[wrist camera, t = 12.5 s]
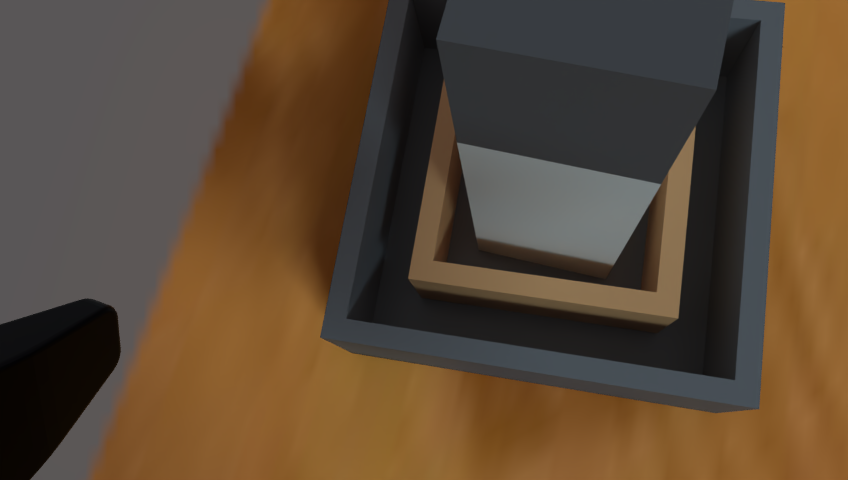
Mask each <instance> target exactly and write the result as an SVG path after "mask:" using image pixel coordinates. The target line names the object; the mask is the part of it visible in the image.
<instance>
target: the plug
mask: <svg viewBox="0 0 848 480" xmlns="http://www.w3.org/2000/svg"><path fill="white" fill-rule="evenodd" d="M733 2H734V0H447V3H446V7H445V10H444V13H443V17H442V20H441V24H440V27H439V31H438V34H437V38H436V42H437V46H438V51H439V56H440V61H441V66H442V71H443V76H444V81H445V86H446V91H447V96H448V101H449V106H450V111H451V116H452V120H453V125H454V130H455V135H456V140H457V145H458V150H459V155H460V160H461V165H462V170H463V175H464V180H465V185H466V189H467V194H468V199H469V204H470V209H471V214H472V219H473V224H474V229H475V234H476V239H477V244H478V249H479V250H481V251H485V252H489V253H494V254H498V255H502V256H507V257H511V258H515V259H520V260H524V261H528V262H533V263H537V264H541V265H546V266H550V267H554V268H559V269H563V270H567V271H572V272H576V273H580V274H585V275H589V276H593V277H598V278H602V279H606V278H607V276H608V274H609V272H610V271H611V269H612V267H613V266H614V264H615V262H616V261H617V259H618V257H619V255H620V254H621V252H622V250H623V249H624V247H625V245H626V243H627V242H628V240H629V238H630V237H631V235H632V233H633V232H634V230H635V228H636V226H637V225H638V223H639V221H640V220H641V218H642V216H643V214H644V213H645V211H646V209H647V208H648V206H649V204H650V203H651V201H652V199H653V197H654V196H655V194H656V192H657V191H658V189H659V187H660V186H661V184H662V182H663V180H664V179H665V177H666V175H667V174H668V172H669V170H670V168H671V167H672V165H673V163H674V162H675V160H676V158H677V157H678V155H679V153H680V151H681V150H682V148H683V146H684V145H685V143H686V141H687V139H688V138H689V136H690V134H691V133H692V131H693V129H694V128H695V126H696V124H697V122H698V121H699V119H700V117H701V116H702V114H703V112H704V110H705V109H706V107H707V105H708V104H709V102H710V100H711V99H712V97H713V95H714V93H715V92H716V90H717V85H718V80H719V75H720V69H721V64H722V59H723V54H724V49H725V43H726V38H727V33H728V28H729V23H730V17H731V12H732V7H733Z"/></svg>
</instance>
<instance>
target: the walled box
mask: <svg viewBox="0 0 848 480" xmlns="http://www.w3.org/2000/svg"><path fill="white" fill-rule="evenodd" d="M446 3H447V0H389V2H388V7H387V12H386V17H385V22H384V27H383V32H382V37H381V42H380V46H379V51H378V56H377V61H376V66H375V71H374V76H373V81H372V86H371V91H370V96H369V100H368V105H367V110H366V115H365V120H364V125H363V130H362V135H361V140H360V145H359V150H358V154H357V159H356V164H355V169H354V174H353V179H352V184H351V189H350V194H349V199H348V203H347V208H346V213H345V218H344V223H343V228H342V233H341V238H340V243H339V248H338V253H337V257H336V262H335V267H334V272H333V277H332V282H331V287H330V292H329V297H328V302H327V306H326V311H325V316H324V321H323V326H322V331H321V336H320V338H322V339H324V340H327V341H329V342H331V343H333V344H335V345H337V346H339V347H341V348H343V349H345V350H347V351H349V352H351V353H356V354H362V355H368V356H374V357H380V358H386V359H392V360H398V361H404V362H410V363H416V364H422V365H428V366H434V367H440V368H447V369H453V370H459V371H465V372H471V373H477V374H483V375H489V376H495V377H501V378H507V379H513V380H519V381H525V382H531V383H537V384H543V385H549V386H555V387H561V388H568V389H574V390H580V391H586V392H592V393H598V394H604V395H610V396H616V397H622V398H628V399H634V400H640V401H646V402H652V403H658V404H664V405H670V406H676V407H682V408H689V409H695V410H701V411H707V412H713V413H722V412H732V411H743V410H753V409H759V402H760V386H761V370H762V355H763V339H764V323H765V308H766V292H767V277H768V261H769V245H770V230H771V214H772V198H773V183H774V167H775V151H776V136H777V120H778V104H779V89H780V73H781V57H782V42H783V26H784V11H785V3H779V2H767V1H754V0H734V2H733V7H732V12H731V17H730V23H729V28H728V33H727V38H726V43H725V49H724V54H723V59H722V64H721V69H720V75H719V80H718V85H717V90H716V92H715V93H714V95H713V97H712V99H711V100H710V102H709V104H708V105H707V107H706V109H705V110H704V112H703V114H702V116H701V117H700V119H699V121H698V122H697V124H696V126H695V128H694V129H693V131H692V133H691V134H690V136H689V138H688V139H687V141H686V143H685V145H684V146H683V148H682V150H681V151H680V153H679V155H678V157H677V158H676V160H675V162H674V163H673V165H672V167H671V168H670V170H669V172H668V174H667V175H666V177H665V179H664V180H663V182H662V184H661V186H660V187H659V189H658V191H657V192H656V194H655V196H654V197H653V199H652V201H651V203H650V204H649V206H648V208H647V209H646V211H645V213H644V214H643V216H642V218H641V220H640V221H639V223H638V225H637V226H636V228H635V230H634V232H633V233H632V235H631V237H630V238H629V240H628V242H627V243H626V245H625V247H624V249H623V250H622V252H621V254H620V255H619V257H618V259H617V261H616V262H615V264H614V266H613V267H612V269H611V271H610V272H609V274H608V276H607V278H606V279H602V278H598V277H593V276H589V275H585V274H580V273H576V272H572V271H567V270H563V269H559V268H554V267H550V266H546V265H541V264H537V263H533V262H528V261H524V260H520V259H515V258H511V257H507V256H502V255H498V254H494V253H489V252H485V251H481V250H479V249H478V244H477V239H476V234H475V229H474V224H473V219H472V214H471V209H470V204H469V199H468V194H467V189H466V185H465V180H464V175H463V170H462V165H461V160H460V155H459V150H458V145H457V140H456V135H455V130H454V125H453V120H452V116H451V111H450V106H449V101H448V96H447V91H446V86H445V81H444V76H443V71H442V66H441V61H440V56H439V51H438V46H437V42H436V38H437V34H438V31H439V27H440V24H441V20H442V17H443V13H444V10H445V7H446Z"/></svg>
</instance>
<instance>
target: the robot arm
mask: <svg viewBox="0 0 848 480" xmlns="http://www.w3.org/2000/svg"><path fill="white" fill-rule="evenodd" d="M120 352H121V347H120V337H119V327H118V316H117V312H116V311H115V309H114V308H113V307H112V306H110V305H106V304H104V303H101V302H99V301H96V300H93V299H82V300H79V301H75V302H72V303H68V304H65V305H62V306H59V307H56V308H52V309H49V310H46V311H43V312H40V313H36V314H33V315H30V316H27V317H23V318H20V319H17V320H14V321H11V322H7V323H4V324H1V325H0V480H30V479H31V478H32V477H33V476H34V475H35V473H36V472H37V471H38V470H39V469H40V468H41V467H42V465H43V464H44V463H45V462H46V461H47V459H48V458H49V457H50V456H51V455H52V453H53V452H54V451H55V450H56V448H57V447H58V445H59V444H60V443H61V442H62V440H63V439H64V438H65V436H66V435H67V433H68V432H69V431H70V429H71V428H72V427H73V425H74V424H75V422H76V421H77V420H78V418H79V417H80V415H81V414H82V413H83V411H84V410H85V408H86V407H87V406H88V405H89V403H90V402H91V400H92V399H93V398H94V396H95V395H96V393H97V392H98V391H99V389H100V388H101V386H102V385H103V384H104V382H105V381H106V380H107V378H108V377H109V376H110V374H111V373H112V371H113V370H114V368H115V367H116V365H117V363H118V360H119V358H120Z"/></svg>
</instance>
